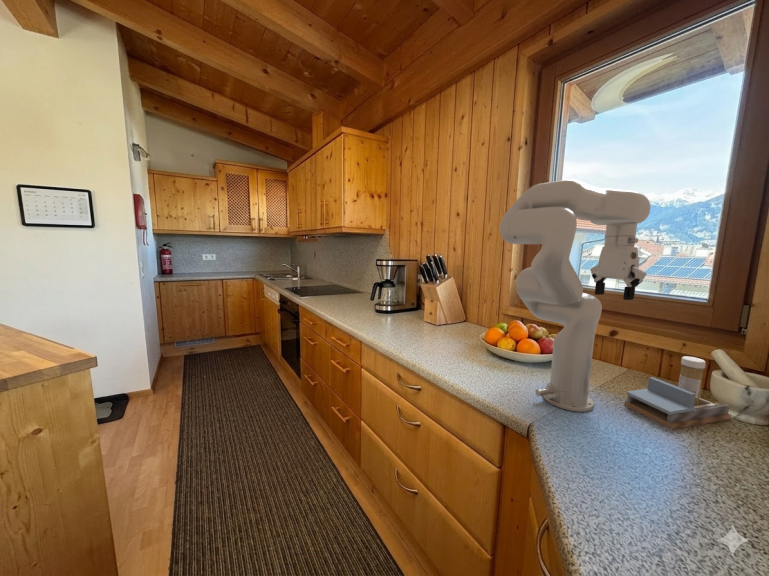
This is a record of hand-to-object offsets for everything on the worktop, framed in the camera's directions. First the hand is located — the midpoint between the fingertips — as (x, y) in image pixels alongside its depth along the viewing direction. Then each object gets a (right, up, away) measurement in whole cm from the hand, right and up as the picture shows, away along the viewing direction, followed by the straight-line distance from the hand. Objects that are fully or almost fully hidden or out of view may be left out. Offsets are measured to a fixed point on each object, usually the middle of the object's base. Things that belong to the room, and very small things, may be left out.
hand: (613, 296), depth 98 cm
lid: (0, -27, -16) cm, 32 cm away
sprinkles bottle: (+10, -30, -13) cm, 34 cm away
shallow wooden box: (+6, -31, -14) cm, 34 cm away
